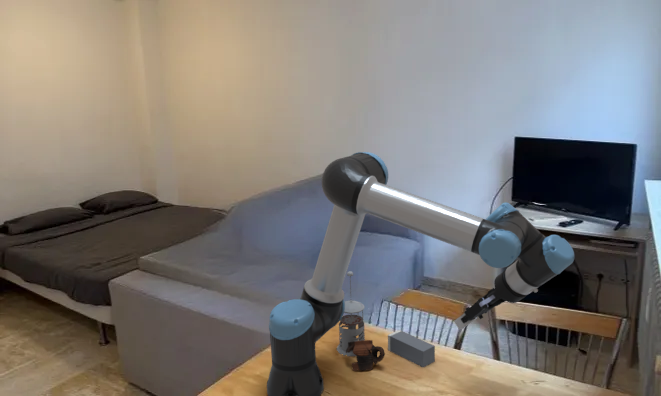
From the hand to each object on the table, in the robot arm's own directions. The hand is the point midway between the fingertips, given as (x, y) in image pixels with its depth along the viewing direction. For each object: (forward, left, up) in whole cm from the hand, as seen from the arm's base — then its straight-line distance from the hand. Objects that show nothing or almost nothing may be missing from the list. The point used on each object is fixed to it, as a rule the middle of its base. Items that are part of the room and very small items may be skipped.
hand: (458, 324), depth 142 cm
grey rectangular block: (-10, 0, -13) cm, 17 cm away
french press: (-33, -9, -16) cm, 38 cm away
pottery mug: (-23, -13, -16) cm, 31 cm away
